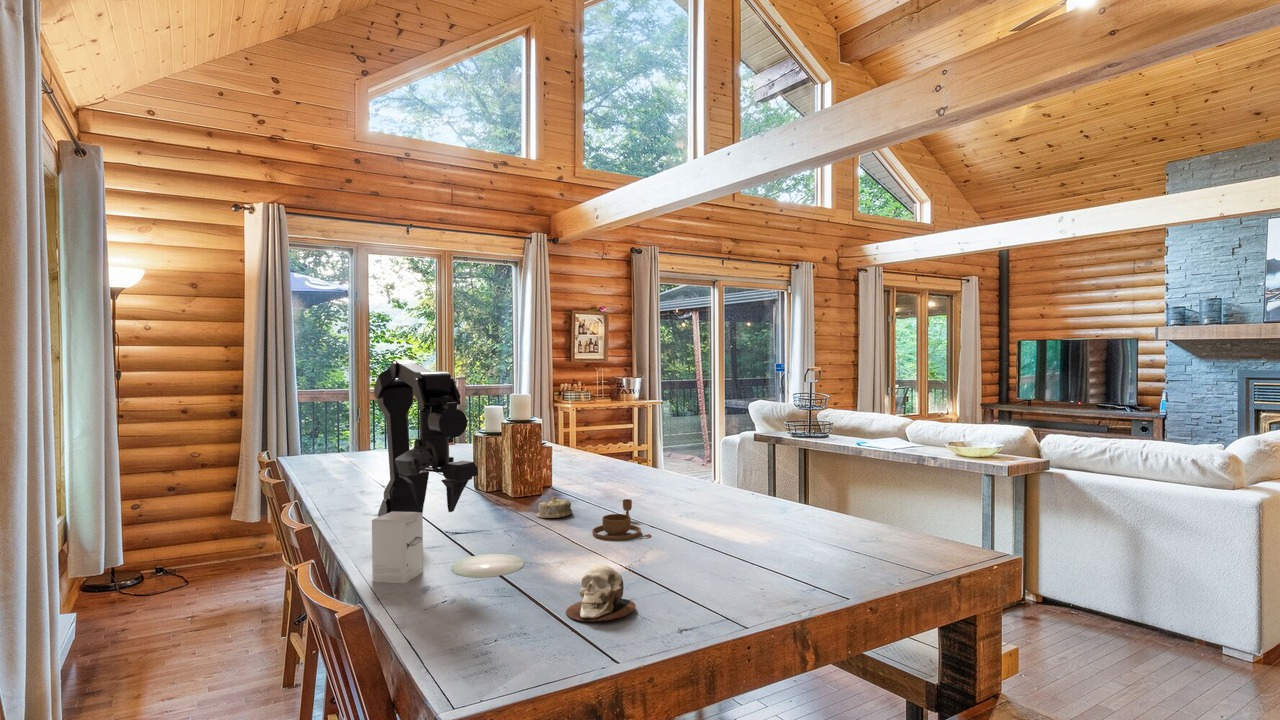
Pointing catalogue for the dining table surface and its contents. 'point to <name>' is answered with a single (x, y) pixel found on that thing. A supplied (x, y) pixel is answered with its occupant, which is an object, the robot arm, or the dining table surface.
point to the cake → (554, 508)
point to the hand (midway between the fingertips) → (435, 509)
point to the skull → (601, 596)
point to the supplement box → (397, 547)
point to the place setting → (618, 525)
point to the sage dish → (487, 565)
